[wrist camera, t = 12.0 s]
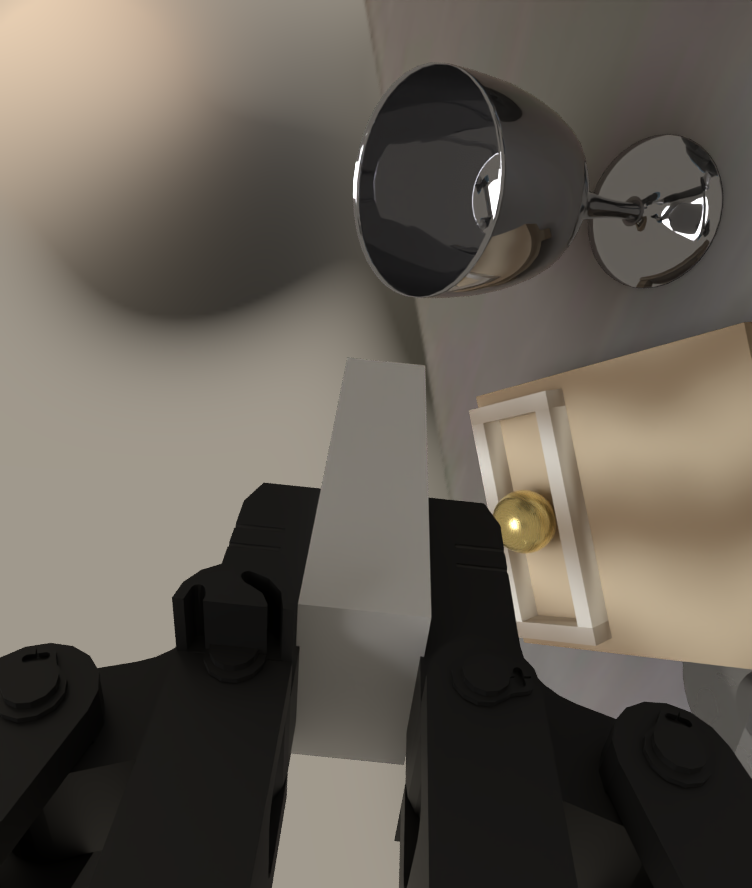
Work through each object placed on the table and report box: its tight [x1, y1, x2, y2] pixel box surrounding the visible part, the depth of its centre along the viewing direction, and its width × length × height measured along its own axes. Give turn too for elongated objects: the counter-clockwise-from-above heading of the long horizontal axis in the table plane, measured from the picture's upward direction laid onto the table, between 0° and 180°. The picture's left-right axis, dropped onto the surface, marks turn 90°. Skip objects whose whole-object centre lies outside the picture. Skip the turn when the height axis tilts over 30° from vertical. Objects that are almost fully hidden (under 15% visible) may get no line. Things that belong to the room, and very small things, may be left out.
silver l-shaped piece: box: [683, 661, 752, 778], centre depth 27 cm, size 16×10×15 cm, turn 168°
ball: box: [493, 490, 557, 554], centre depth 33 cm, size 3×3×3 cm
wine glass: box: [353, 63, 723, 298], centre depth 30 cm, size 8×8×15 cm
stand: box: [469, 322, 752, 669], centre depth 32 cm, size 13×14×7 cm
